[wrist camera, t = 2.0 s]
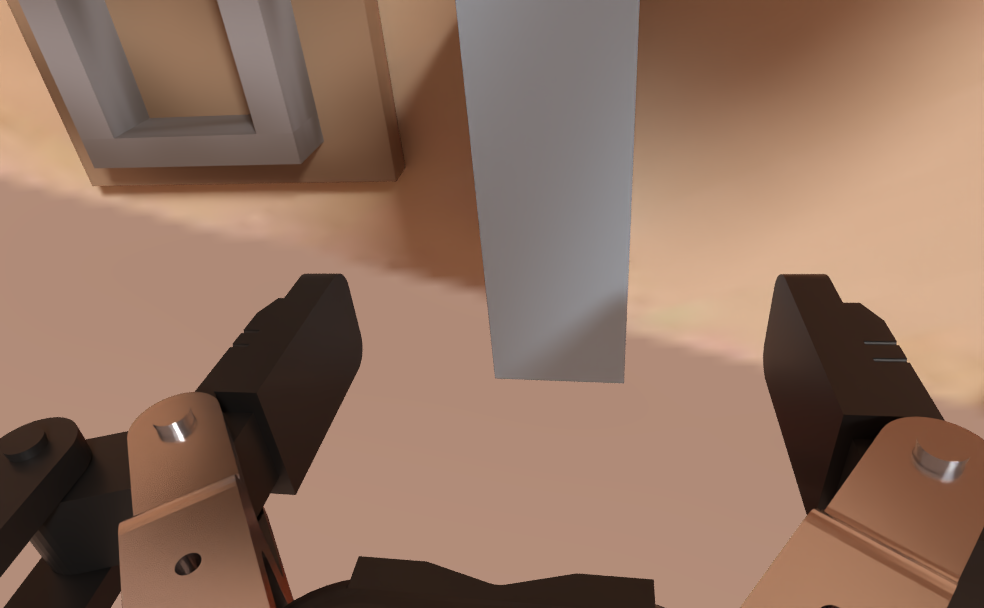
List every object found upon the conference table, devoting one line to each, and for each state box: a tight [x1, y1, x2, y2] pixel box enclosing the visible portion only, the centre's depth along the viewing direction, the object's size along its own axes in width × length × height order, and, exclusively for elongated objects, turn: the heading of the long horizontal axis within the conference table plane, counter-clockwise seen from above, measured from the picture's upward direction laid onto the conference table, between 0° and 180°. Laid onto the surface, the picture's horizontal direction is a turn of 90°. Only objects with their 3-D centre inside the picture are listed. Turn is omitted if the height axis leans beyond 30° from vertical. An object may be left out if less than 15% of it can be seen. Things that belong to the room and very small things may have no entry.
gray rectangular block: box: [455, 0, 640, 383], centre depth 18 cm, size 10×4×8 cm, turn 5°
